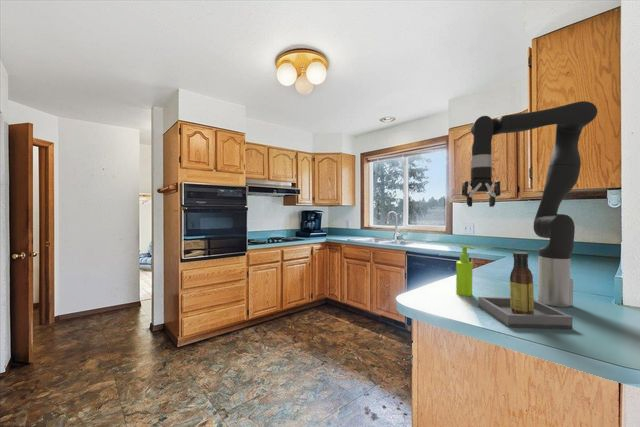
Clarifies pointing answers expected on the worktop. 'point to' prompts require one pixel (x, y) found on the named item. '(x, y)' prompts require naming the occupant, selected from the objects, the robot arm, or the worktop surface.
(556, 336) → the worktop surface
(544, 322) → the charcoal tray
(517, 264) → the sauce bottle
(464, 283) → the soap dispenser
